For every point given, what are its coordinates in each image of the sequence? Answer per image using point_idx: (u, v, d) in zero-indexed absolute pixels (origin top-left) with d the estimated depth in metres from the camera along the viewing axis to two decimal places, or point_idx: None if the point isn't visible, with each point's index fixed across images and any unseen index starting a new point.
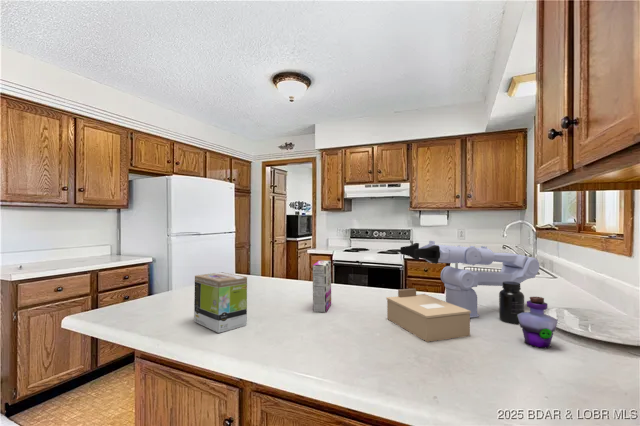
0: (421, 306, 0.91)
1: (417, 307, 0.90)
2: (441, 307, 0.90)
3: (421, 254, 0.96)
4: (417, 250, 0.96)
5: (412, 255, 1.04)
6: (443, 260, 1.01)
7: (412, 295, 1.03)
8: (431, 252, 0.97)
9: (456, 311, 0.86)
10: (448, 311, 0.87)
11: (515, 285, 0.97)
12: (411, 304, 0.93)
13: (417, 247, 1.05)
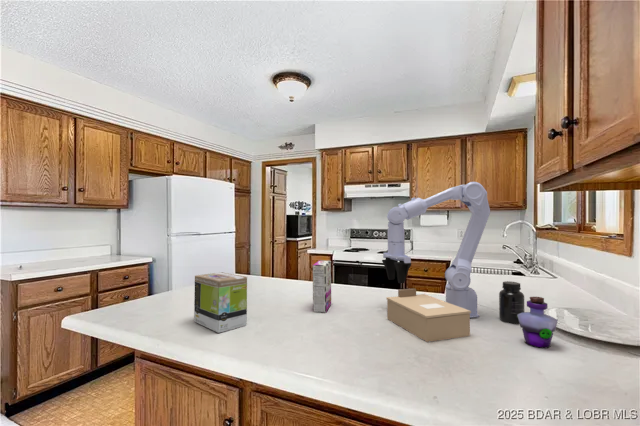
0: (421, 306, 0.91)
1: (417, 307, 0.90)
2: (441, 307, 0.90)
3: (402, 277, 1.06)
4: (399, 281, 1.06)
5: (394, 266, 1.13)
6: (404, 246, 1.08)
7: (412, 295, 1.03)
8: (401, 266, 1.06)
9: (456, 311, 0.86)
10: (448, 311, 0.87)
11: (515, 285, 0.97)
12: (411, 304, 0.93)
13: (388, 262, 1.12)
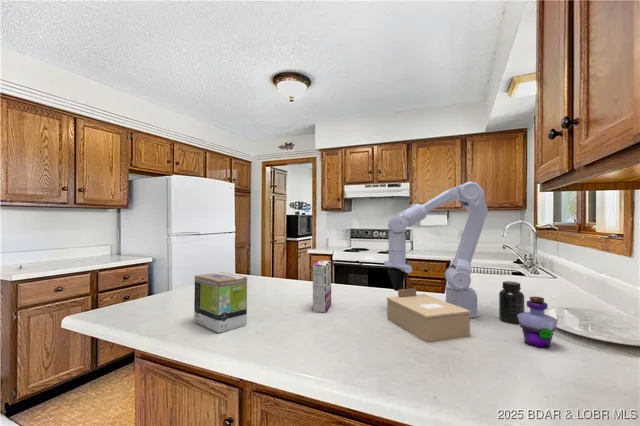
0: (421, 306, 0.91)
1: (417, 307, 0.90)
2: (441, 307, 0.90)
3: (399, 285, 1.08)
4: (396, 289, 1.08)
5: None
6: (405, 255, 1.08)
7: (412, 295, 1.03)
8: (397, 274, 1.08)
9: (456, 311, 0.86)
10: (448, 311, 0.87)
11: (515, 285, 0.97)
12: (411, 304, 0.93)
13: None
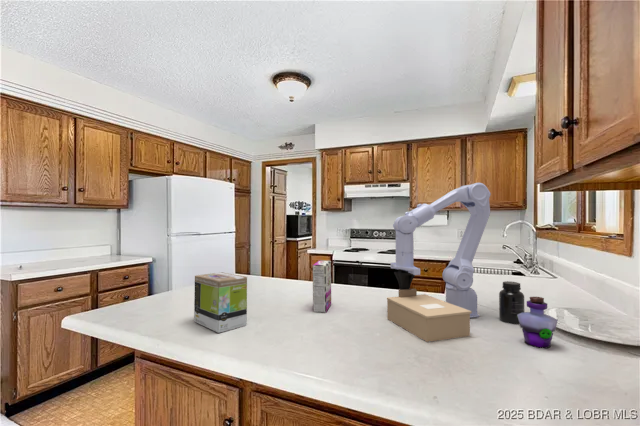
0: (421, 306, 0.91)
1: (417, 307, 0.90)
2: (442, 307, 0.90)
3: (406, 288, 1.04)
4: None
5: None
6: None
7: (412, 295, 1.03)
8: (405, 276, 1.04)
9: (457, 311, 0.86)
10: (448, 311, 0.86)
11: (515, 285, 0.97)
12: (411, 304, 0.93)
13: None
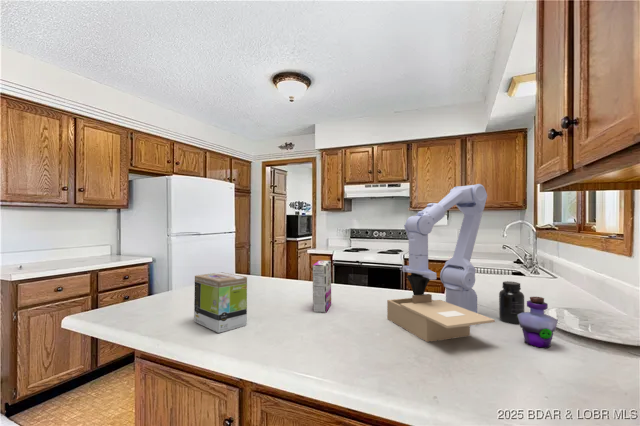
0: (439, 314, 0.84)
1: (435, 315, 0.83)
2: (461, 315, 0.83)
3: (420, 293, 0.97)
4: None
5: None
6: (427, 259, 0.96)
7: (427, 301, 0.96)
8: (419, 281, 0.97)
9: (479, 320, 0.79)
10: (469, 319, 0.79)
11: (515, 285, 0.97)
12: (428, 311, 0.86)
13: None
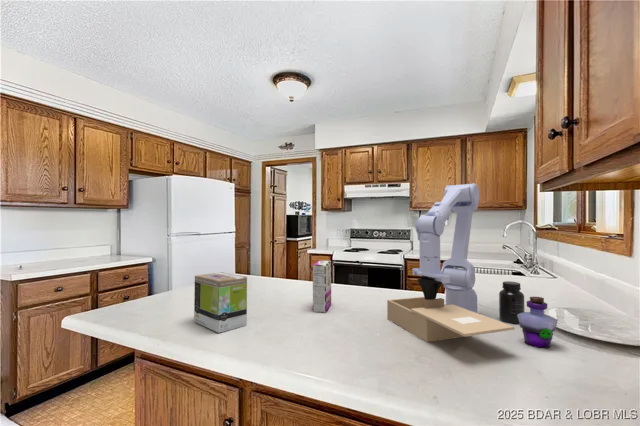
0: (454, 320, 0.78)
1: (450, 322, 0.78)
2: (478, 322, 0.77)
3: (432, 297, 0.91)
4: None
5: None
6: None
7: (440, 306, 0.90)
8: (430, 284, 0.91)
9: (497, 327, 0.74)
10: (487, 327, 0.74)
11: (515, 285, 0.97)
12: (442, 318, 0.81)
13: None
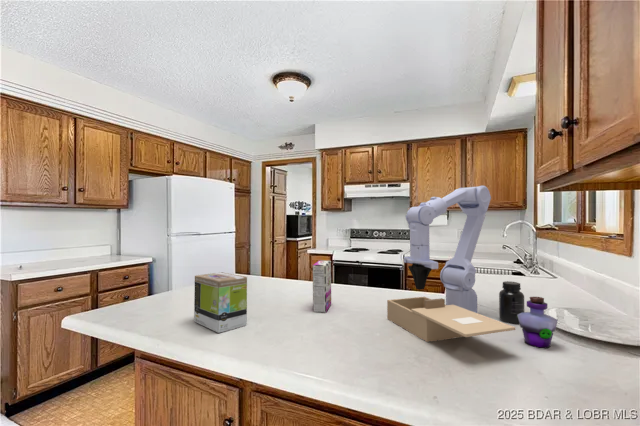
0: (455, 321, 0.78)
1: (451, 322, 0.77)
2: (479, 322, 0.77)
3: (422, 283, 0.97)
4: (419, 287, 0.97)
5: None
6: (429, 250, 0.97)
7: (440, 306, 0.90)
8: (420, 271, 0.97)
9: (498, 327, 0.73)
10: (488, 327, 0.74)
11: (515, 285, 0.97)
12: (442, 318, 0.80)
13: None
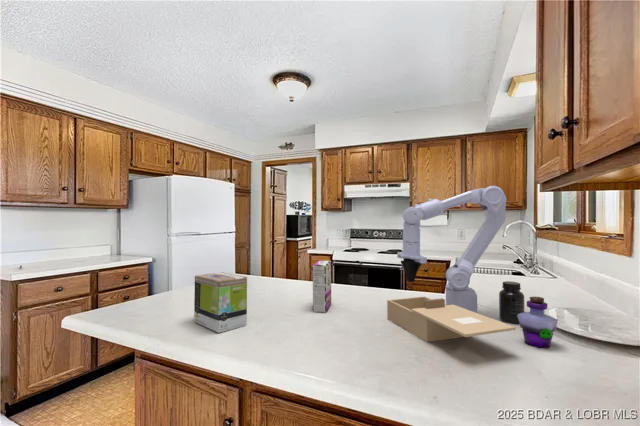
0: (455, 321, 0.78)
1: (451, 322, 0.77)
2: (479, 322, 0.77)
3: (412, 276, 1.09)
4: (409, 280, 1.08)
5: None
6: (419, 246, 1.08)
7: (440, 306, 0.90)
8: (411, 265, 1.08)
9: (498, 327, 0.73)
10: (488, 327, 0.74)
11: (515, 285, 0.97)
12: (442, 318, 0.80)
13: None
